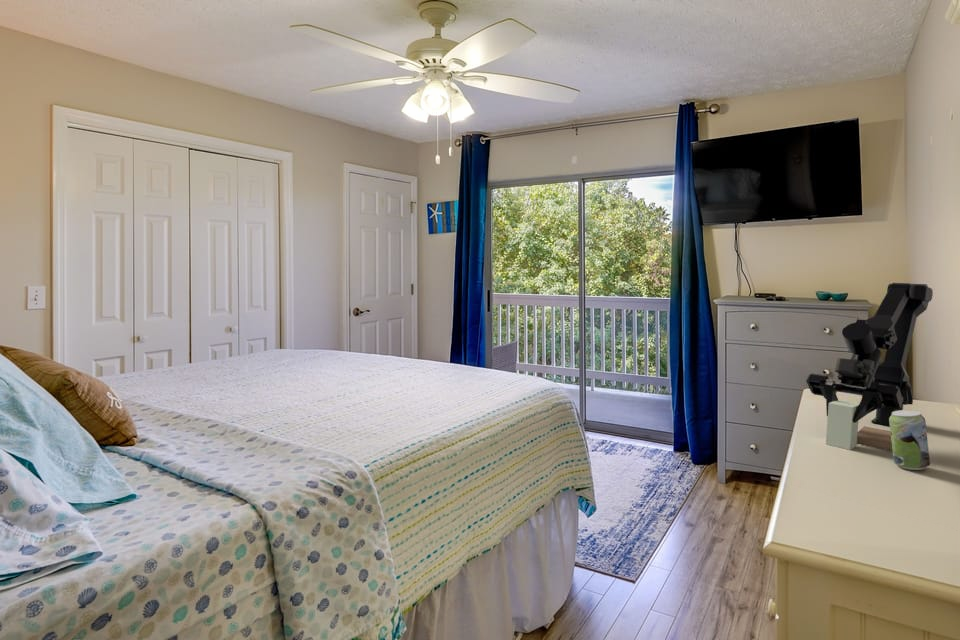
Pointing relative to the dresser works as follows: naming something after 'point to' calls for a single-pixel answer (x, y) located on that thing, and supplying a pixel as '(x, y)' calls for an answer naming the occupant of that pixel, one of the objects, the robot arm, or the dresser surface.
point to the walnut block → (875, 438)
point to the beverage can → (909, 439)
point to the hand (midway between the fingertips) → (840, 418)
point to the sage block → (842, 425)
